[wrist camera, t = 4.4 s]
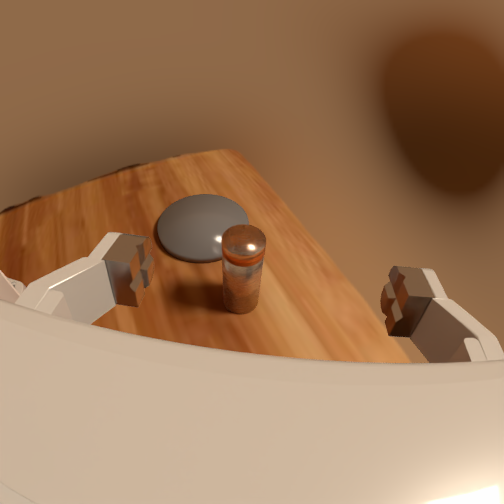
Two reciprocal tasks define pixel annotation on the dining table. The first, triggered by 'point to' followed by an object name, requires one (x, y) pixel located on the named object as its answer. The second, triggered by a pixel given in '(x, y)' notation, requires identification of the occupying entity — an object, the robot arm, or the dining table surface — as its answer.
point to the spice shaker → (242, 267)
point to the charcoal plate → (198, 226)
